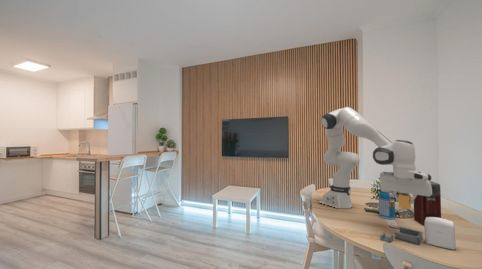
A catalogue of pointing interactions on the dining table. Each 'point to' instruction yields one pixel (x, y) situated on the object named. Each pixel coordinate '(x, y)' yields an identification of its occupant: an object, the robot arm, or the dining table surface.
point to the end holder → (409, 235)
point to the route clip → (386, 238)
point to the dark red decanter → (428, 204)
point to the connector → (404, 200)
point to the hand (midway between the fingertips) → (404, 202)
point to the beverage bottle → (386, 204)
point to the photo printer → (440, 232)
